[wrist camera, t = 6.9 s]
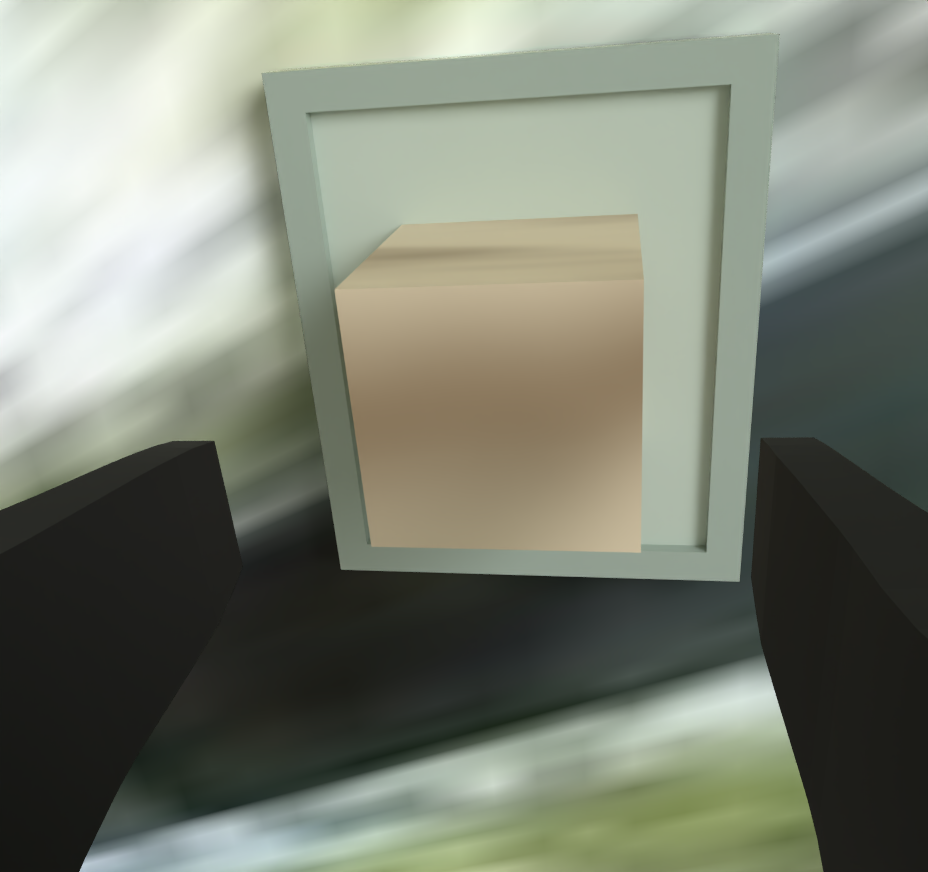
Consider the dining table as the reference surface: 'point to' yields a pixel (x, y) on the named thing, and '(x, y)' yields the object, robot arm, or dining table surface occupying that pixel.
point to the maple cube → (500, 384)
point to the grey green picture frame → (550, 196)
